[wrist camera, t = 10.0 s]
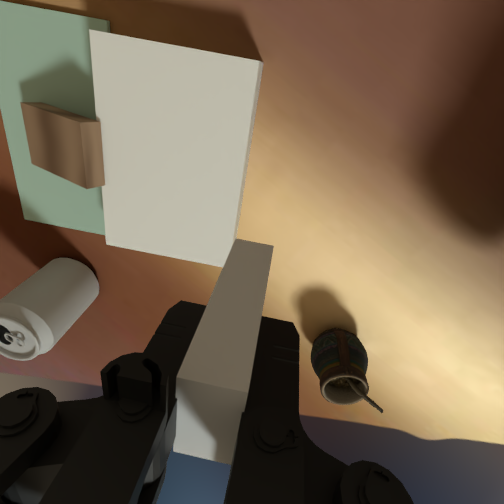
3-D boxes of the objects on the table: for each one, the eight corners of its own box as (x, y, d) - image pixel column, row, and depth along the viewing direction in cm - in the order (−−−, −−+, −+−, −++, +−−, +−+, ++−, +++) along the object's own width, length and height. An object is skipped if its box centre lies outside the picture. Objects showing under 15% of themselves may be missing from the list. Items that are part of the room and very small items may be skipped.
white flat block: (263, 62, 29) (259, 60, 25) (234, 251, 39) (228, 268, 35) (113, 35, 29) (89, 29, 25) (122, 229, 39) (106, 244, 35)
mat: (109, 21, 28) (106, 20, 28) (120, 236, 39) (118, 237, 39) (-20, -3, 29) (-24, -4, 28) (27, 217, 39) (24, 219, 39)
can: (45, 249, 42) (-38, 306, 31) (100, 260, 41) (36, 322, 31) (53, 293, 45) (-18, 358, 35) (104, 304, 45) (48, 372, 35)
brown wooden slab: (100, 121, 29) (80, 122, 27) (105, 185, 32) (86, 189, 30) (41, 102, 32) (20, 102, 30) (50, 161, 35) (31, 163, 33)
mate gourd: (309, 320, 42) (315, 382, 34) (367, 321, 42) (388, 385, 33) (308, 359, 46) (313, 424, 37) (362, 360, 45) (380, 427, 36)
